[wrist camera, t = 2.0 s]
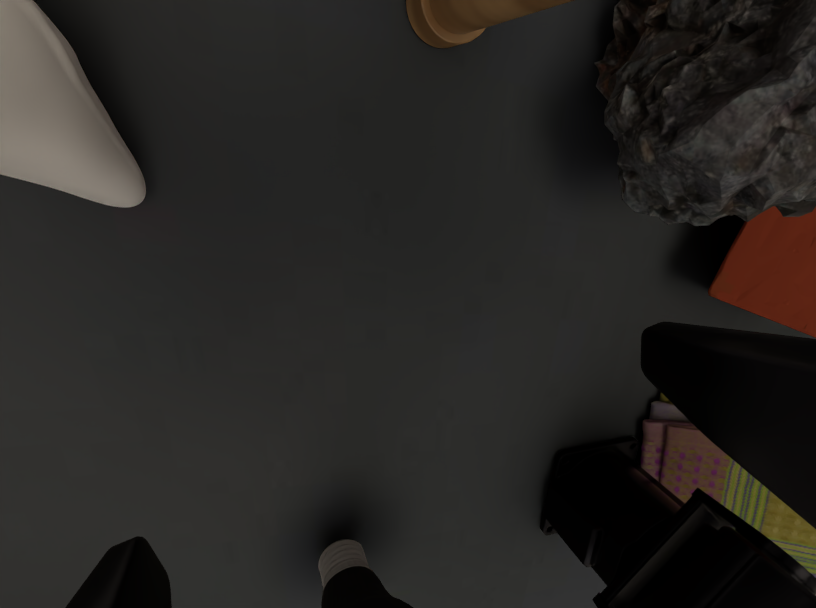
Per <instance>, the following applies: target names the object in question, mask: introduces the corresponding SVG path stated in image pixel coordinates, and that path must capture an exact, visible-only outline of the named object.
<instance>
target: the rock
mask: <svg viewBox="0 0 816 608" xmlns="http://www.w3.org/2000/svg"><path fill="white" fill-rule="evenodd" d="M613 29H614V33H615V38H614V39H613V40H612V41H611V42H610V43H609V44H608V45H607V48H606V51H605V55H604V58H603V60H600V61H598V62H595V63H594V64H595V65H596V66H597V68H598V70H599V73H600V75H599V78H598V81H597V84H596V87H597V88H598V90H599V91H600V92H601V93H602V94H603V96H604V97H605V98H606V99H607V100H608V104H607V106H606V109H605V111H604V124H605V125H606V127H607V128H608V129H609V130H610V131H611V132H612V134H613V138H614V140H616V141H618V145H619V150H620V153H619V157H618V161H617V164H618V165H619V174H618V178H619V181H620V185H621V196H622V197H623V198H622V200H623V201H624V202H625V203H626V204H627V205H628V206H629V207H630V208H631V209H632V210H633V211H634V212H638V213H643V214H648V215H650V216H655V217H659V218H660V219H661V220H662V221H664V222H665V223H666V224H667V225H668V224H675V223H682V222H688V223H690V224H692V225H694V226H707V225H710V224H711V223H713V222H714V221H715V220H717V219H718V218H721V217H724V216H728V215H730V216H732V215H737V216H738V217H740V218H742V219H743V220H745V221H746V222H749V221H750V220H752V219H753V218H755V217H756V216H757V215H759V214H760V213H762V212H764V211H766V210H767V209H769V208H771V207H773V206H776V208H777V209H778V210H779V211H780V212H781V214H782V216H783V217H800V216H803V215H805V214H808V213H810V212H812V211H813V210H814V208H815V207H816V0H620V2H619V3H618V4H617V5H616V6H615V8H614V17H613Z"/></svg>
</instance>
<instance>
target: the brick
mask: <svg viewBox="0 0 816 608" xmlns="http://www.w3.org/2000/svg"><path fill="white" fill-rule="evenodd" d="M708 294H709V296H712V297H714V298H717V299H719V300H721V301H724V302H727V303H729V304H732V305H734V306H737V307H739V308H742V309H744V310H747V311H749V312H752V313H754V314H757V315H760V316H762V317H765V318H767V319H770V320H772V321H775V322H777V323H780V324H783V325H785V326H788V327H790V328H793V329H795V330H798V331H800V332H803V333H805V334H808V335H810V336H813V337H815V338H816V207H815V208H814V210H813V211H812V212H810V213H808V214H805V215H803V216H800V217H783V216H782V214H781V212H780V211H779V210H778V209H777V208H776V206H773V207H771V208H769V209H767V210H766V211H764V212H762V213H760V214H759V215H757V216H756V217H755V218H753V219H752V220H750V221H749V222H746V221H745V222H744V224H743V226H742V228H741V229H740V231H739V233H738V235H737V237H736V238H735V240H734V242H733V244H732V245H731V247H730V249H729V251H728V253H727V255H726V257H725V259H724V260H723V262H722V264H721V266H720V268H719V270H718V272H717V274H716V276H715V278H714V280H713V282H712V283H711V285H710V287H709V289H708Z"/></svg>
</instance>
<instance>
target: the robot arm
mask: <svg viewBox="0 0 816 608" xmlns="http://www.w3.org/2000/svg"><path fill="white" fill-rule="evenodd" d="M641 368H642V371H643V373H644V375H645V376H646V377H647V379H648V380H649V381H650V382H651V383H652V384H653V385H654V386H655V387H656V388H657V389H658V390H659V391H660V392H661V393H662V394H663V395H664V396H665V397H666V398H667V399H668V400H669V401H670V402H671V403H672V404H673V405H674V406H675V407H676V408H677V409H678V410H679V411H680V412H681V413H682V414H683V415H684V416H685V417H686V418H687V419H688V420H689V421H690V422H691V423H692V424H693V425H694V426H695V427H696V428H697V429H698V430H699V431H700V432H701V433H703V434H704V435H705V436H706V437H707V438H708V439H709V440H710V441H711V442H713V443H714V444H715V445H716V446H717V447H718V448H720V449H721V450H722V451H723V452H724V453H725V454H727V455H728V456H729V457H730V458H731V459H733V460H734V461H735V462H736V463H737V464H739V465H740V466H741V467H742V468H743V469H744V470H746V471H747V472H748V473H749V474H750V475H752V476H753V477H754V478H755V479H756V480H758V481H759V482H760V483H761V484H762V485H763V486H765V487H766V488H767V489H768V490H769V491H771V492H772V493H773V494H774V495H775V496H777V497H778V498H779V499H780V500H781V501H782V502H784V503H785V504H786V505H787V506H788V507H790V508H791V509H792V510H793V511H794V512H796V513H797V514H798V515H799V516H800V517H802V518H803V519H804V520H805V521H806V522H807V523H809V524H810V525H811V526H812V527H813V528H815V529H816V339H810V338H802V337H793V336H784V335H776V334H767V333H759V332H750V331H742V330H733V329H724V328H716V327H707V326H699V325H690V324H682V323H673V322H660V323H657V324H655V325H653V326H650V327H648V328H646V329H645V330H644V331H643V333H642V337H641ZM638 447H639V441H638V440H636V439H635V438H634V437H626V438H621V439H616V440H611V441H606V442H601V443H596V444H591V445H586V446H581V447H576V448H571V449H566V450H562V451H560V452H559V453H558V454H557V455H556V457H555V461H554V465H553V470H552V475H551V479H550V484H549V488H548V493H547V498H546V502H545V507H544V511H543V516H542V520H541V525H540V529H541V530H542V532H543V533H544V534H545V535H551V534H554V533H558V534H559V535H560V537H561V538H562V539H563V540H564V542H565V543H566V544H567V545H568V546H569V548H570V549H571V550H572V551H573V553H574V554H575V555H576V556H577V557H578V559H579V560H580V561H581V562H582V564H584V565H585V566H586V567H590V566H591V567H592V568H593V569H594V571H595V572H596V573H597V574H598V575H599V577H600V578H601V579H602V580H603V581H604V583H605V584H606V585H607V587H606V588H605V589H604V590H603V591H602V592H601V593H598V594H597V595H596V596H595V597H594V598H593V601H594V603H595V604H596V606H597V607H598V608H816V596H815V595H816V577H814V576H813V575H812V574H811V573H810V572H809V571H808V570H807V569H806V568H804V567H803V566H802V565H801V564H800V563H799V562H797V561H796V560H795V559H794V558H793V557H791V556H790V555H789V554H788V553H786V552H785V551H784V550H783V549H781V548H780V547H779V546H778V545H776V544H775V543H774V542H773V541H771V540H770V539H769V538H767V537H766V536H765V535H763V534H762V533H761V532H759V531H758V530H757V529H755V528H754V527H752V526H751V525H750V524H748V523H747V522H745V521H744V520H743V519H741V518H740V517H738V516H737V515H736V514H734V513H733V512H732V511H730V510H729V509H727V508H726V507H725V506H723V505H722V504H720V503H719V502H718V501H716V500H715V499H713V498H712V497H711V496H709V495H708V494H706V493H705V492H704V491H702V490H701V489H699V488H698V487H697V488H696V489H695V490H694V492H693V493H692V494H691V495H692V496H691V498H690V499H689V500H688V501H687V502H686V503H684V502H683V501H682V500H680V499H679V498H678V497H677V496H675V495H674V494H673V493H672V492H671V491H669V490H668V489H667V488H666V487H665V486H663V485H662V484H661V483H660V482H659V481H657V480H656V479H655V478H654V477H653V476H651V475H650V474H649V473H648V472H647V471H645V470H644V469H643V468H642V467H641V466H639V465H638V464H637V463H636V462H634V461H635V457H636V454H637V450H638ZM66 608H172V606H171V589H170V582H169V578H168V575H167V572H166V570H165V569H164V567H163V565H162V564H161V562H160V561H159V559H158V557H157V556H156V554H155V553H154V551H153V549H152V548H151V546H150V545H149V543H148V542H147V540H146V539H145V538H143V537H139V536H138V537H134V538H132V539H129V540H127V541H125V542H122V543H120V544H117V545H115V546H113V547H111V548H110V549H109V550H108V551H107V552H106V553H105V555H104V556H103V557H102V559H101V560H100V562H99V563H98V564H97V566H96V567H95V568H94V570H93V571H92V572H91V574H90V575H89V576H88V578H87V579H86V580H85V582H84V583H83V585H82V586H81V587H80V589H79V590H78V591H77V593H76V594H75V595H74V597H73V598H72V599H71V601H70V602H69V604H68V605H67V606H66Z"/></svg>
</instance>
